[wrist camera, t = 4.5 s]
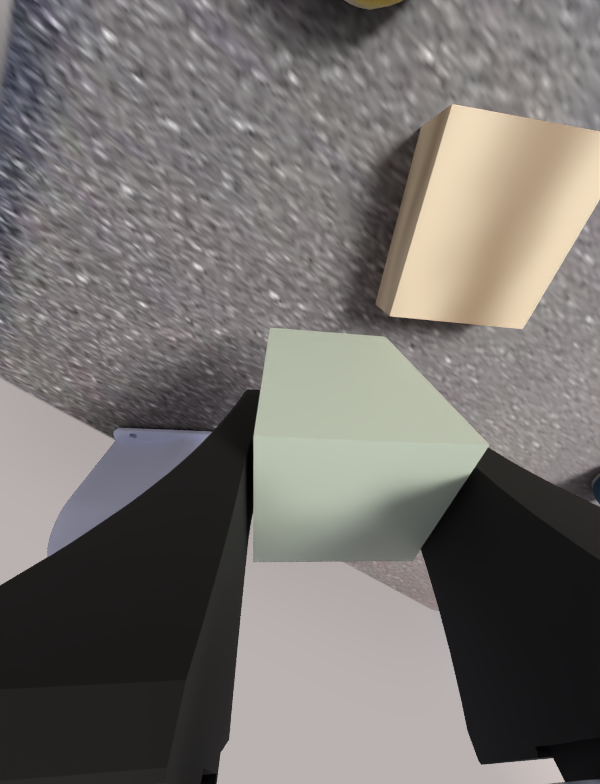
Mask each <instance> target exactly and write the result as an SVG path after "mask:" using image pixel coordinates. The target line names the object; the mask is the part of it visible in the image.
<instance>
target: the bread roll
mask: <svg viewBox="0 0 600 784" xmlns="http://www.w3.org/2000/svg"><path fill="white" fill-rule="evenodd" d="M344 1H346V2H348V3H350V4H352V5H354V6H356V7H359V8H364V9H368V10H371V9H376V8H382V7H388V6H391V5H394V4H397V3H399V2H401V1H403V0H344Z"/></svg>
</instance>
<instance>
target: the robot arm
mask: <svg viewBox="0 0 600 784" xmlns="http://www.w3.org/2000/svg"><path fill="white" fill-rule="evenodd" d="M259 397H260V390H249V389H248V390H247V391H245V392H244V394H243V395H242V397H241V398H240V400H239V401H238V402H237V404H236V405H235V406H234V408H233V409H232V410H231V411H230V413H229V414H228V415H227V416H226V417H225V418H224V420H223V421H222V422H221V423H220V424H219V425H218V426H217V428H216V429H215V430H214V431H213V432H211V431H187V430H162V429H138V428H117V429H116V430H115V431H114V433H113V435H114V437H115V440H116V441H115V442H114V443H113V445H112V446H111V447H110V449H109V450H108V451H107V452H106V454H105V455H104V456H103V457H102V459H101V460H100V461H99V462H98V464H97V465H96V466H95V468H94V469H93V470H92V471H91V472H90V474H89V475H88V476H87V477H86V479H85V480H84V481H83V482H82V484H81V485H80V486H79V487H78V489H77V490H76V491H75V493H74V494H73V495H72V496H71V498H70V499H69V500H68V502H67V503H66V504H65V506H64V507H63V509H62V511H61V512H60V514H59V516H58V518H57V520H56V522H55V525H54V527H53V530H52V532H51V535H50V539H49V543H48V551H47V552H48V557H47V558H46V559H44V560H42V561H41V562H39V563H37V564H35V565H34V566H32V567H31V568H29V569H27V570H25V571H24V572H22V573H20V574H19V575H17V576H15V577H14V578H12V579H10V580H9V581H7V582H5V583H4V584H2V585H0V784H216V783H217V775H218V767H219V760H220V752H221V751H222V750H223V748H224V746H225V745H226V743H227V742H228V740H229V732H230V722H231V711H232V700H233V689H234V679H235V667H236V657H237V647H238V637H239V626H240V616H241V606H242V596H243V586H244V576H245V566H246V556H247V547H248V538H249V530H250V524H251V519H252V514H253V464H254V430H255V423H256V417H257V410H258V404H259ZM134 434H135V435H134ZM421 551H422V554H423V557H424V561H425V564H426V567H427V570H428V573H429V577H430V580H431V583H432V587H433V590H434V594H435V597H436V601H437V604H438V607H439V611H440V615H441V619H442V623H443V626H444V630H445V634H446V638H447V642H448V645H449V649H450V653H451V658H452V662H453V666H454V670H455V675H456V679H457V683H458V688H459V692H460V697H461V701H462V706H463V711H464V716H465V720H466V725H467V730H468V733H469V736H470V739H471V741H472V744H473V747H474V750H475V752H476V755H477V757H478V760H479V762H480V763H481V764H493V763H504V762H515V761H525V760H537V759H548V758H554V761H555V762H556V764H557V767H558V768H559V770H560V772H561V774H562V776H563V778H564V780H565V782H562V783H553V784H600V507H599V506H597V505H594V504H592V503H590V502H588V501H586V500H584V499H582V498H580V497H578V496H575V495H573V494H571V493H569V492H567V491H565V490H563V489H561V488H559V487H557V486H555V485H553V484H552V483H550V482H548V481H546V480H544V479H542V478H540V477H539V476H537V475H535V474H533V473H531V472H529V471H527V470H526V469H524V468H522V467H520V466H518V465H517V464H515V463H513V462H511V461H510V460H508V459H506V458H505V457H503V456H501V455H500V454H498V453H496V452H495V451H493V450H491V449H490V448H487V450H486V451H485V453H484V454H483V456H482V457H481V459H480V460H479V462H478V463H477V465H476V466H475V468H474V469H473V471H472V472H471V474H470V475H469V477H468V478H467V480H466V481H465V483H464V484H463V486H462V487H461V489H460V490H459V492H458V493H457V495H456V496H455V498H454V499H453V501H452V502H451V504H450V505H449V507H448V508H447V510H446V511H445V513H444V514H443V516H442V517H441V519H440V520H439V522H438V523H437V525H436V526H435V528H434V529H433V531H432V532H431V534H430V535H429V537H428V538H427V540H426V541H425V543H424V544H423V546H422V547H421Z"/></svg>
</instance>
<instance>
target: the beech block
mask: <svg viewBox="0 0 600 784" xmlns="http://www.w3.org/2000/svg"><path fill="white" fill-rule="evenodd" d="M599 200H600V132H599V131H594V130H589V129H583V128H578V127H573V126H567V125H562V124H557V123H551V122H546V121H540V120H535V119H530V118H524V117H519V116H514V115H508V114H503V113H498V112H492V111H487V110H481V109H476V108H471V107H465V106H460V105H455V104H452V105H450V106H449V107H448V108H446V109H445V110H444V111H442V112H441V113H440V114H438V115H437V116H435V117H434V118H433V119H431V120H430V121H429V122H427V123H426V124H425V125H423V126H422V127H421V129H420V133H419V137H418V141H417V145H416V148H415V152H414V156H413V160H412V164H411V168H410V172H409V175H408V179H407V183H406V187H405V191H404V195H403V199H402V202H401V206H400V210H399V214H398V218H397V222H396V226H395V229H394V233H393V237H392V241H391V245H390V249H389V253H388V256H387V260H386V264H385V268H384V272H383V276H382V280H381V284H380V287H379V291H378V295H377V299H376V303H375V304H376V305H377V306H378V307H379V308H380V309H382V310H383V311H384V312H385V313H386V314H387V315H389V316H392V317H402V318H413V319H423V320H434V321H444V322H455V323H465V324H475V325H486V326H496V327H507V328H517V329H523V328H524V326H525V324H526V323H527V321H528V319H529V318H530V316H531V314H532V313H533V311H534V309H535V308H536V306H537V304H538V302H539V301H540V299H541V297H542V296H543V294H544V292H545V291H546V289H547V287H548V286H549V284H550V282H551V281H552V279H553V277H554V276H555V274H556V272H557V270H558V269H559V267H560V265H561V264H562V262H563V260H564V259H565V257H566V255H567V254H568V252H569V250H570V249H571V247H572V245H573V244H574V242H575V240H576V238H577V237H578V235H579V233H580V232H581V230H582V228H583V227H584V225H585V223H586V222H587V220H588V218H589V217H590V215H591V213H592V212H593V210H594V208H595V206H596V205H597V203H598V201H599Z"/></svg>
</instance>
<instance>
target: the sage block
mask: <svg viewBox="0 0 600 784" xmlns="http://www.w3.org/2000/svg"><path fill="white" fill-rule="evenodd" d="M488 447H489V444H488V443H487V442H486V441H485V440H484V439H483V438H482V437H481V436H480V435H479V434H478V433H477V432H476V431H475V429H474V428H473V427H472V426H471V425H470V424H469V423H468V422H467V421H466V420H465V419H464V418H463V417H462V416H461V415H460V414H459V413H458V412H457V411H456V410H455V409H454V408H453V407H452V406H451V405H450V403H449V402H448V401H447V400H446V399H445V398H444V397H443V396H442V395H441V394H440V393H439V392H438V391H437V390H436V389H435V388H434V387H433V386H432V385H431V384H430V383H429V382H428V381H427V380H426V379H425V377H424V376H423V375H422V374H421V373H420V372H419V371H418V370H417V369H416V368H415V367H414V366H413V365H412V364H411V363H410V362H409V361H408V360H407V359H406V358H405V357H404V356H403V355H402V354H401V353H400V351H399V350H398V349H397V348H396V347H395V346H394V345H393V344H392V343H391V342H390V341H389V340H388V339H387V338H386V337H382V336H369V335H356V334H343V333H331V332H318V331H305V330H292V329H280V328H270V332H269V338H268V345H267V351H266V358H265V364H264V371H263V377H262V384H261V390H260V397H259V404H258V410H257V417H256V423H255V430H254V464H253V517H254V518H253V520H254V521H253V526H254V527H253V528H254V531H253V534H254V535H253V536H254V537H253V538H254V539H253V540H254V542H253V547H254V548H253V549H254V551H253V552H254V553H253V556H254V557H253V558H254V559H253V560H254V562H317V561H318V562H319V561H320V562H321V561H413V559H414V558H415V556H416V555H417V553H418V552H419V550H420V549H421V547H422V546H423V544H424V543H425V541H426V540H427V538H428V537H429V535H430V534H431V532H432V531H433V529H434V528H435V526H436V525H437V523H438V522H439V520H440V519H441V517H442V516H443V514H444V513H445V511H446V510H447V508H448V507H449V505H450V504H451V502H452V501H453V499H454V498H455V496H456V495H457V493H458V492H459V490H460V489H461V487H462V486H463V484H464V483H465V481H466V480H467V478H468V477H469V475H470V474H471V472H472V471H473V469H474V468H475V466H476V465H477V463H478V462H479V460H480V459H481V457H482V456H483V454H484V453H485V451H486V450H487V448H488Z"/></svg>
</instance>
